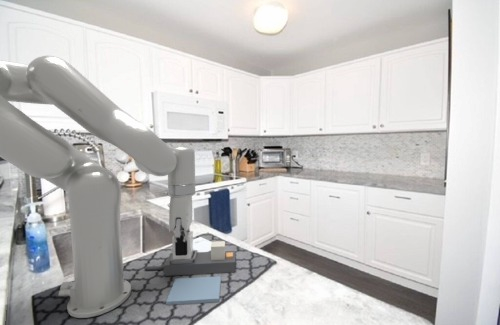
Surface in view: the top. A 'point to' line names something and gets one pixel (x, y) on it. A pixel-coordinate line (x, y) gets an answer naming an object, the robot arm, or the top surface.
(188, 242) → the block
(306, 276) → the top surface
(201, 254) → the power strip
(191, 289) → the mat
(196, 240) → the external hard drive
